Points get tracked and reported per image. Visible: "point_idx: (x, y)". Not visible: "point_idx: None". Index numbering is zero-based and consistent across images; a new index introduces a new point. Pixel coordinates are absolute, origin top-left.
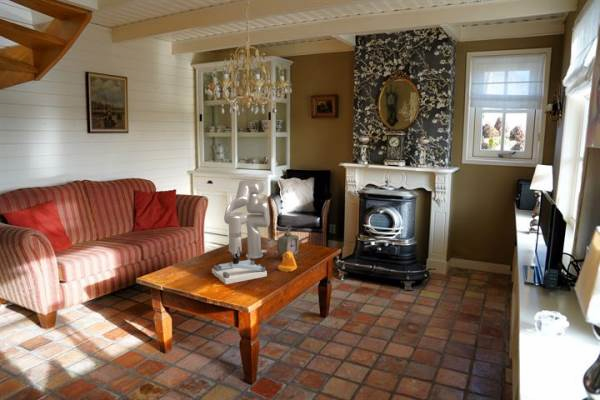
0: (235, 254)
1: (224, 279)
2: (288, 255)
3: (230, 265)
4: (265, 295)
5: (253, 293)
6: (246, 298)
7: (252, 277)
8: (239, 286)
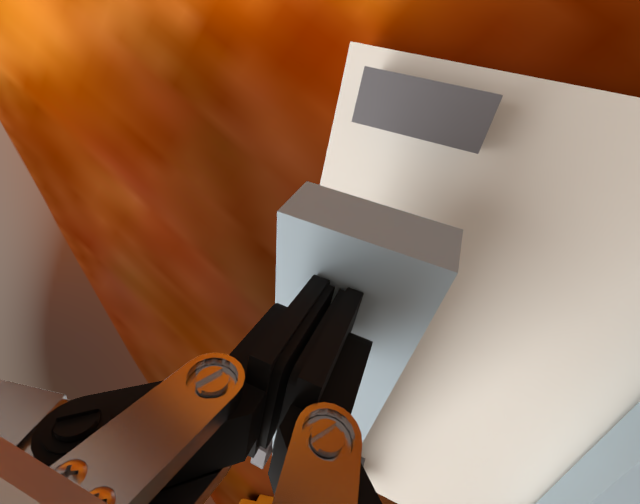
0: (85, 459)
1: (391, 51)
2: None
3: (367, 214)
4: (21, 149)
5: (66, 113)
6: (5, 3)
7: None
8: (228, 129)
